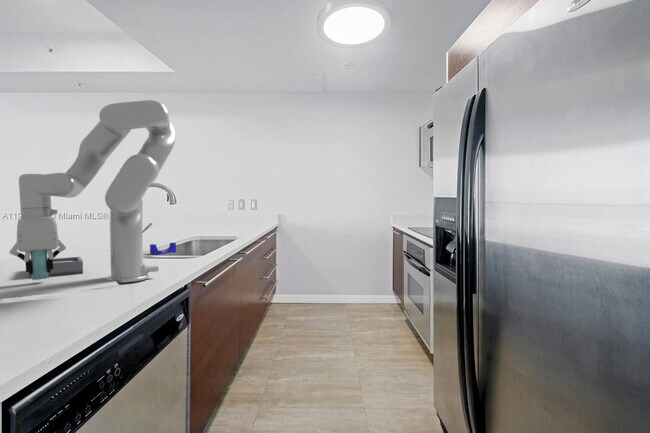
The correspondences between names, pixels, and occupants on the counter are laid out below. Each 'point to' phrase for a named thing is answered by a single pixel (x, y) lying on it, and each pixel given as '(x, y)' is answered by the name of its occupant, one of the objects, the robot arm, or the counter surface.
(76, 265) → the walled box
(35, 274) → the teal cylinder
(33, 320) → the counter surface
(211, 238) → the counter surface
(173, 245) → the cable clip
